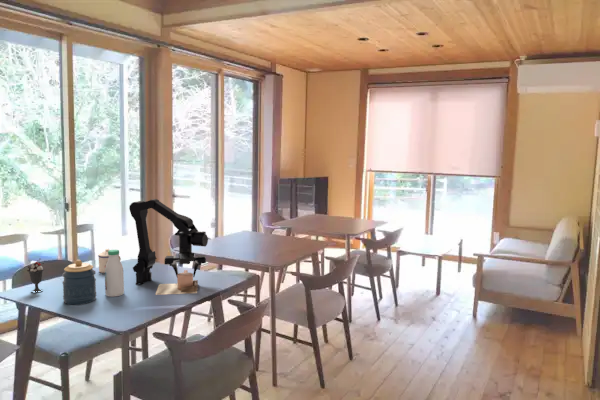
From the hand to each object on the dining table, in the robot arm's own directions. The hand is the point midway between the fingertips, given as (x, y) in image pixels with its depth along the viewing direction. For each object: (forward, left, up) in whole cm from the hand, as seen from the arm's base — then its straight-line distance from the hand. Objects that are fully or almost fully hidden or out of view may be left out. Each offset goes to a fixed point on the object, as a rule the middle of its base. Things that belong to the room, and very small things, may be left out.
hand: (185, 277), depth 226 cm
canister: (-43, -13, -5) cm, 46 cm away
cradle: (-3, -5, -4) cm, 8 cm away
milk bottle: (-30, -7, -5) cm, 32 cm away
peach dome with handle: (0, -4, -4) cm, 5 cm away
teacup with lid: (-40, +35, -5) cm, 53 cm away
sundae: (-65, +2, -5) cm, 66 cm away
